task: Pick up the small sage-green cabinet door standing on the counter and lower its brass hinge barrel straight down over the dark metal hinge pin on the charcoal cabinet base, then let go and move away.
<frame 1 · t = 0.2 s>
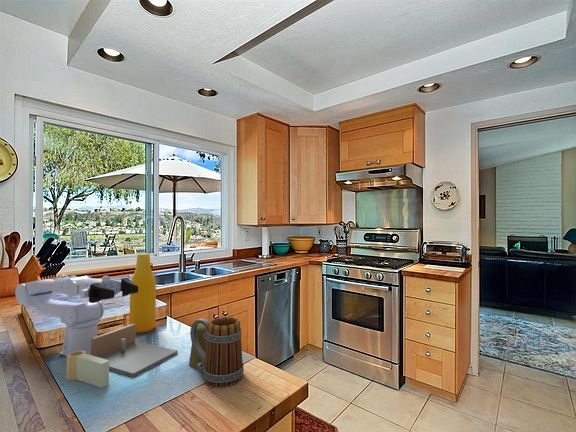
hand: (125, 291, 89), 21 cm above the countertop, tool horizontal, fingers open, 7 cm apart
cabinet base: (133, 358, 93), on the countertop
mug: (215, 376, 83), on the countertop
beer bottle: (142, 329, 118), on the countertop
door: (76, 376, 82), on the countertop
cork: (199, 363, 90), on the countertop
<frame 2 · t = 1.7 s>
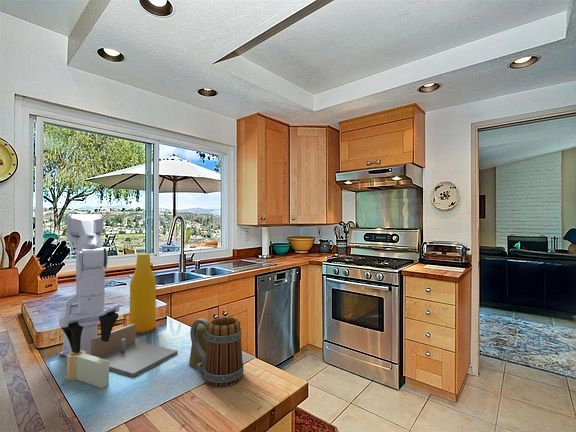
hand: (91, 346, 80), 9 cm above the countertop, tool pointing down, fingers open, 7 cm apart
nothing on the countertop moved.
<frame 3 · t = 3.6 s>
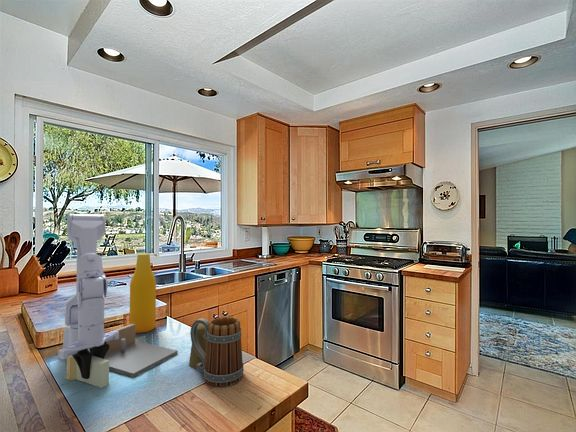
hand: (90, 375, 80), 1 cm above the countertop, tool pointing down, fingers closed on door, 2 cm apart
door: (76, 376, 82), on the countertop, touching gripper
everything else where it was.
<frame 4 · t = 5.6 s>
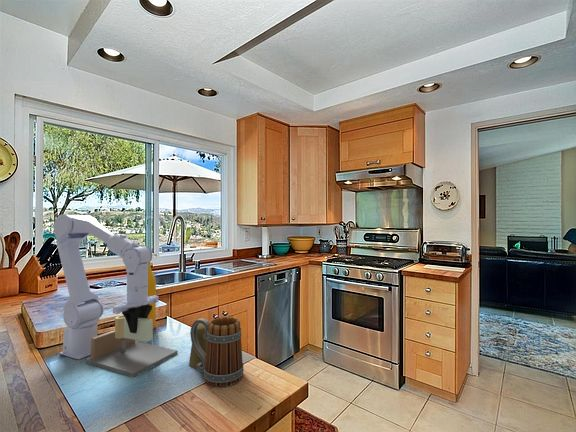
hand: (136, 331, 92), 8 cm above the countertop, tool pointing down, fingers closed on door
door: (122, 336, 95), point 6 cm above the countertop, touching gripper
everything else where it was.
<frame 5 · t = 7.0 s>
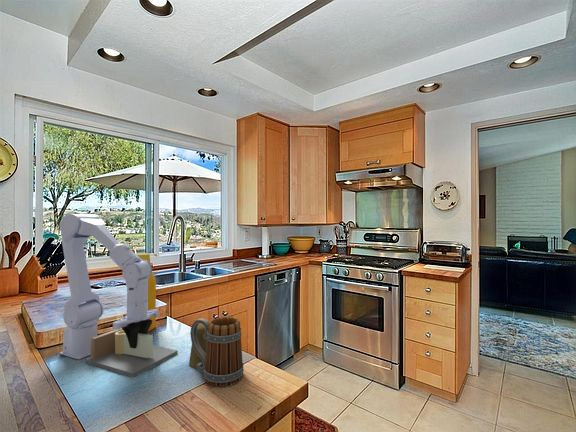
hand: (136, 346, 92), 4 cm above the countertop, tool pointing down, fingers closed on door, 2 cm apart
door: (122, 351, 95), point 1 cm above the countertop, touching cabinet base, gripper
everything else where it was.
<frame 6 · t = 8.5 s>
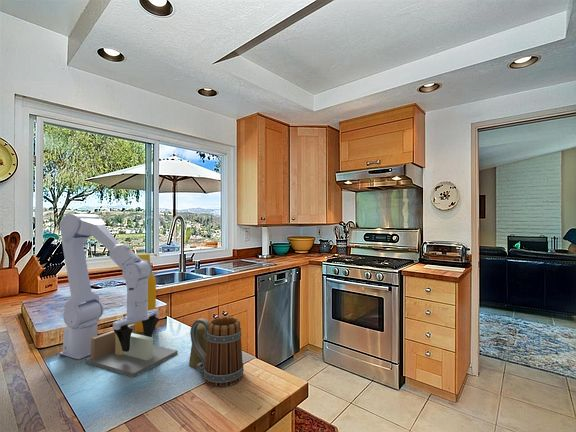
hand: (136, 346, 92), 4 cm above the countertop, tool pointing down, fingers open, 7 cm apart
door: (122, 352, 95), point 1 cm above the countertop, touching cabinet base
everything else where it was.
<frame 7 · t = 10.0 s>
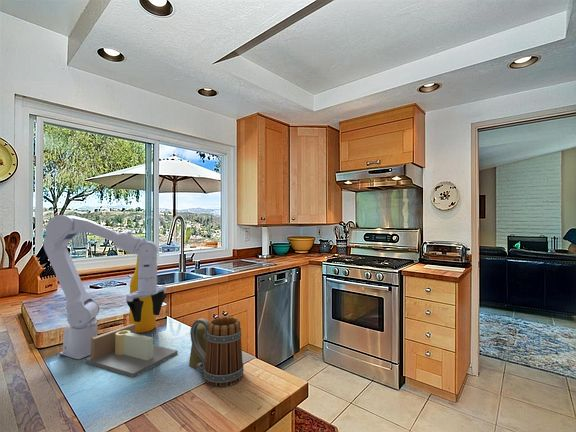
hand: (147, 318, 102), 9 cm above the countertop, tool pointing down, fingers open, 7 cm apart
nothing on the countertop moved.
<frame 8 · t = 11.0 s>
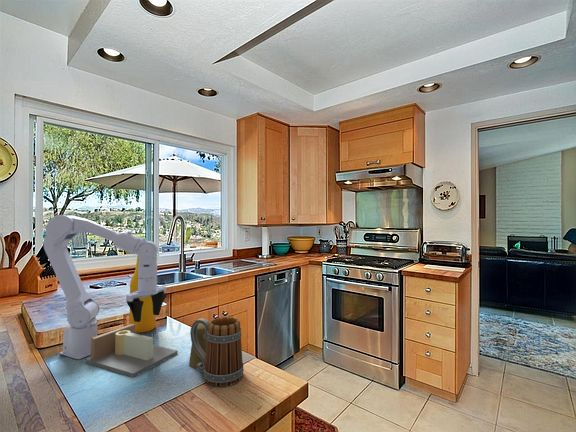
hand: (147, 318, 102), 9 cm above the countertop, tool pointing down, fingers open, 7 cm apart
nothing on the countertop moved.
at the end: door 0.1 cm from the target spot on the cabinet base, point 1.0 cm above the cabinet base's base; door tilted 0°; the gripper is holding nothing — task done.
